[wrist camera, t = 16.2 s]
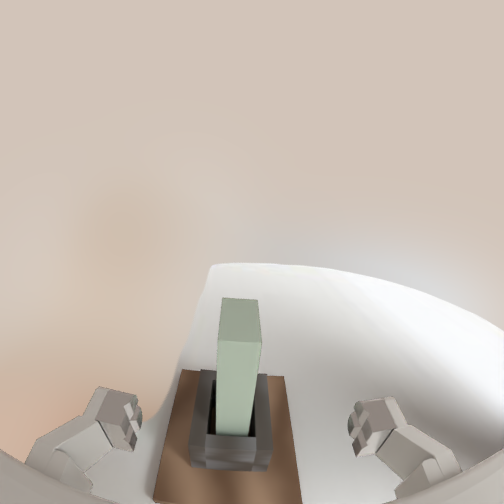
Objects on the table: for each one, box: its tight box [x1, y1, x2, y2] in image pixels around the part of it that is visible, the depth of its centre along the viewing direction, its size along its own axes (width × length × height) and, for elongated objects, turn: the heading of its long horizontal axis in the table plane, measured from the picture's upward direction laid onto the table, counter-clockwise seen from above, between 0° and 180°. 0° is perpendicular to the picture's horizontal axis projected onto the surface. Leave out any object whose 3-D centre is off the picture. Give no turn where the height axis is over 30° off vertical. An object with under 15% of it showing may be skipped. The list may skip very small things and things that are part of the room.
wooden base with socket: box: [153, 369, 302, 504], centre depth 26 cm, size 14×20×6 cm
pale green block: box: [216, 298, 262, 437], centre depth 24 cm, size 3×6×16 cm, turn 1°
